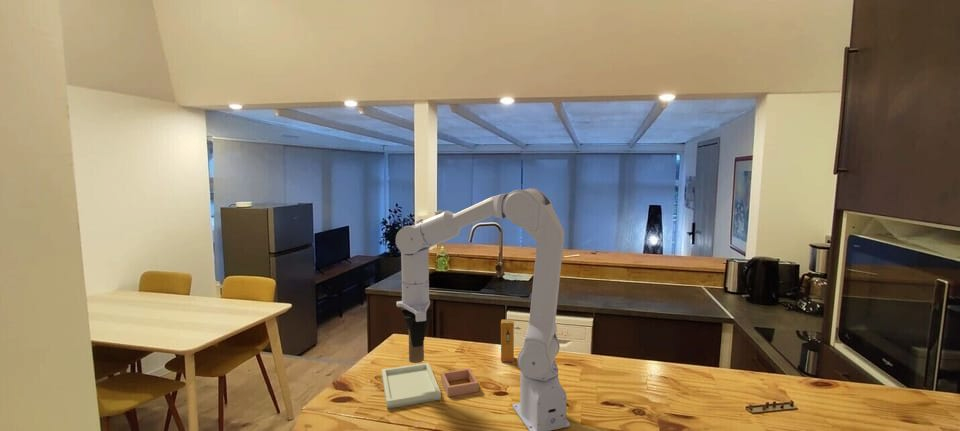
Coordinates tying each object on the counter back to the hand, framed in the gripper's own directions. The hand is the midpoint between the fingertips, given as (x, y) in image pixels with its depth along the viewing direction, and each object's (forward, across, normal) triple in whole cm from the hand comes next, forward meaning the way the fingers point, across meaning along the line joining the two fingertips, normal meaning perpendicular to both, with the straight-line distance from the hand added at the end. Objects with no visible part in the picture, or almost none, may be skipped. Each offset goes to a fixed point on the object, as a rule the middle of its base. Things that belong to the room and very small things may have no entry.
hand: (416, 342), depth 87 cm
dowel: (+4, 0, 0) cm, 4 cm away
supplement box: (+11, -7, +24) cm, 27 cm away
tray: (+10, -1, -1) cm, 11 cm away
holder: (+10, +2, +9) cm, 14 cm away
